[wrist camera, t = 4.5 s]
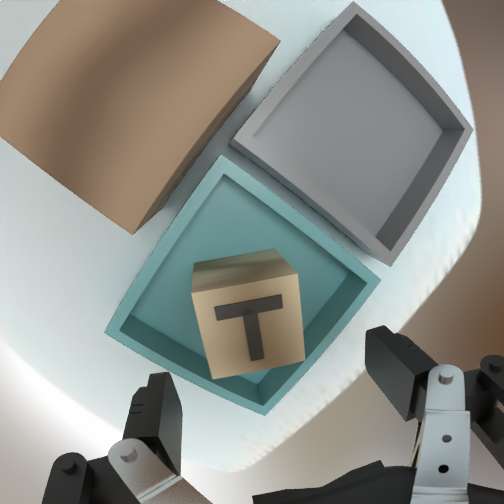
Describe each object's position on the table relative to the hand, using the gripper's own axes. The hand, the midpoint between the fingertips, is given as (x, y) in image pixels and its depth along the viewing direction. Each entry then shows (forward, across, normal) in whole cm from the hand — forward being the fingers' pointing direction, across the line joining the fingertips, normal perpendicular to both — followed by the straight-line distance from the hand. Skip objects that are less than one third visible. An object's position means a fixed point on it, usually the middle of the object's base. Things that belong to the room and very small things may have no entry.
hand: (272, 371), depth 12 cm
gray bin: (+9, -9, -9) cm, 16 cm away
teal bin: (+9, 0, 0) cm, 9 cm away
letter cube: (+9, 0, 0) cm, 9 cm away
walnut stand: (+9, +4, -12) cm, 16 cm away
